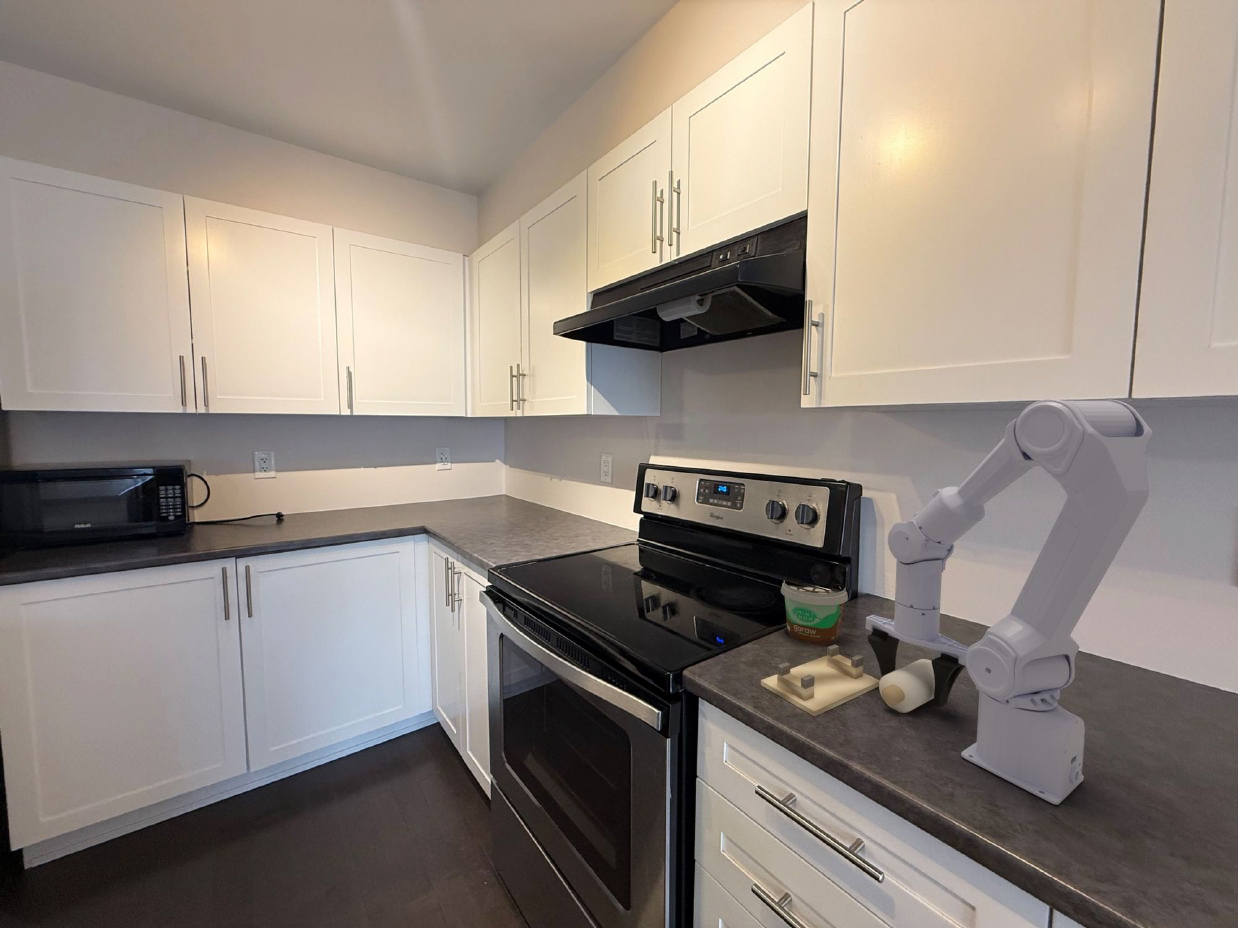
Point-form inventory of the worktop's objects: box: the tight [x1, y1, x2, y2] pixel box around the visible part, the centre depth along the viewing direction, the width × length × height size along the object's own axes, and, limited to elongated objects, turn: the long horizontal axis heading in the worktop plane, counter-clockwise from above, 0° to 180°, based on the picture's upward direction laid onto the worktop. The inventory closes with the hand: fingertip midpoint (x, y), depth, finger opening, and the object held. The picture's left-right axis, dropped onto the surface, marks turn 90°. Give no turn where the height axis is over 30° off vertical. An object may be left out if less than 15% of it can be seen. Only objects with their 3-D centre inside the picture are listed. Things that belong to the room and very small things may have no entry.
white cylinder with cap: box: [878, 658, 935, 714], centre depth 74 cm, size 5×12×5 cm, turn 121°
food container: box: [780, 579, 849, 645], centre depth 95 cm, size 12×6×10 cm, turn 62°
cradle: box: [760, 644, 880, 718], centre depth 78 cm, size 10×16×4 cm, turn 121°
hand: (913, 691), depth 74 cm, fingers open, 7 cm apart
